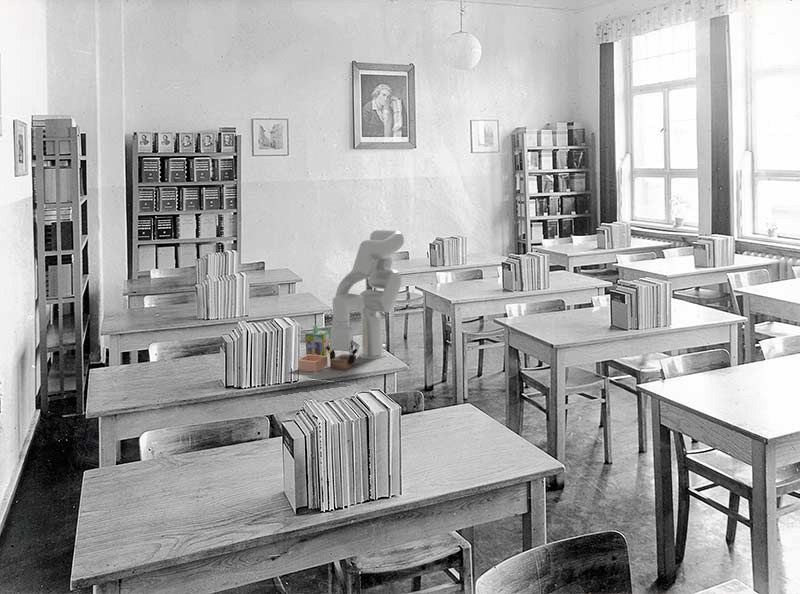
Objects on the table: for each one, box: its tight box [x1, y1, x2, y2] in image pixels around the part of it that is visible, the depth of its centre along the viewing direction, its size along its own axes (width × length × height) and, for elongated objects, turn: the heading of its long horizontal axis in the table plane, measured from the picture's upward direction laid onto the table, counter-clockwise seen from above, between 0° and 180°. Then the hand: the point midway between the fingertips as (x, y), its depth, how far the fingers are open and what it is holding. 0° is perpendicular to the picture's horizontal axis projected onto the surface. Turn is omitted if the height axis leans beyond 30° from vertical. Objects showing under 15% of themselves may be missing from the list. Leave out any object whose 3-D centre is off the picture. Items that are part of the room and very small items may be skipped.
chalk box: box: [304, 324, 330, 357], centre depth 346 cm, size 9×9×15 cm
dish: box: [298, 354, 329, 373], centre depth 326 cm, size 10×10×5 cm
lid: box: [329, 353, 357, 370], centre depth 327 cm, size 11×7×5 cm, turn 155°
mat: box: [325, 362, 362, 372], centre depth 327 cm, size 14×10×1 cm
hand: (342, 362), depth 326 cm, fingers open, 9 cm apart
